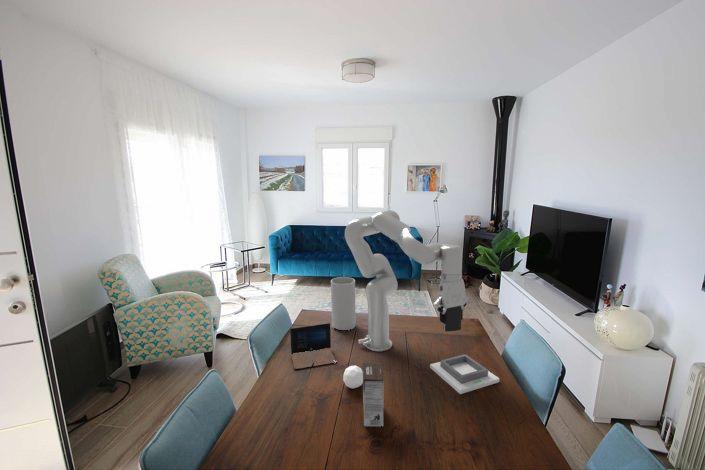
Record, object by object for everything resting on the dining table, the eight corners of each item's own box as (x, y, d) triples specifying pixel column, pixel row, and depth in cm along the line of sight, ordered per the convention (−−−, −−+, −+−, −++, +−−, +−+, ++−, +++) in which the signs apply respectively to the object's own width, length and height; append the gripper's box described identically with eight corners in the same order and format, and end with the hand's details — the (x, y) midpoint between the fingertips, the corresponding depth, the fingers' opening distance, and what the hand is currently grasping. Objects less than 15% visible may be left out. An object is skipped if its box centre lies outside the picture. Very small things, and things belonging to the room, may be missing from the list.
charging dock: (460, 394, 113) (460, 383, 113) (430, 367, 130) (430, 358, 129) (499, 382, 120) (499, 372, 119) (465, 358, 136) (466, 349, 136)
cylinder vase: (360, 325, 169) (360, 280, 165) (344, 334, 160) (342, 286, 156) (343, 319, 178) (342, 275, 174) (327, 326, 169) (325, 281, 165)
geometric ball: (349, 395, 118) (335, 380, 116) (355, 376, 124) (343, 362, 123) (364, 391, 114) (350, 377, 112) (370, 372, 120) (357, 358, 118)
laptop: (294, 371, 129) (292, 341, 127) (291, 355, 141) (289, 328, 139) (337, 364, 134) (336, 334, 132) (330, 349, 146) (330, 322, 144)
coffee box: (363, 406, 108) (362, 362, 105) (382, 406, 108) (382, 362, 105) (363, 426, 99) (362, 378, 96) (384, 427, 99) (384, 379, 96)
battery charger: (457, 326, 129) (457, 299, 127) (461, 330, 125) (462, 302, 124) (440, 328, 128) (440, 300, 126) (445, 332, 124) (445, 304, 122)
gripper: (438, 282, 117) (438, 328, 119) (476, 276, 123) (475, 320, 126) (426, 277, 124) (427, 321, 126) (462, 271, 130) (462, 313, 133)
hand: (451, 320), depth 126 cm, fingers closed on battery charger, 7 cm apart
